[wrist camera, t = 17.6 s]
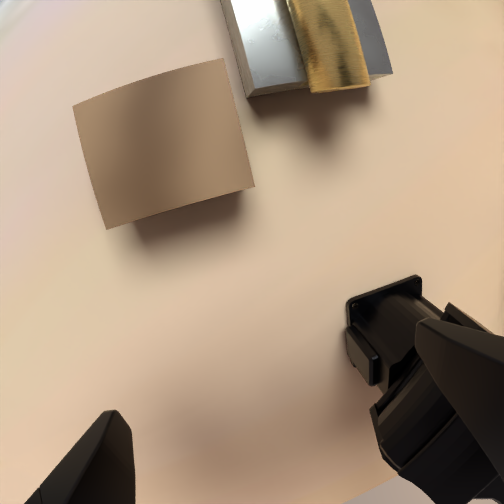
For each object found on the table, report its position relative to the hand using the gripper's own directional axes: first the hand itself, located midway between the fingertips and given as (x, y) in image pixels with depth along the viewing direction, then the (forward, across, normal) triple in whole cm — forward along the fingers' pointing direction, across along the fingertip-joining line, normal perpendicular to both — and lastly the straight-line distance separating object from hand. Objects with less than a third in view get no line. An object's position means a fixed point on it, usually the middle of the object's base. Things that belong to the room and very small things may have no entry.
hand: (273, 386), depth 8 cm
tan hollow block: (+12, +2, -7) cm, 14 cm away
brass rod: (+9, -7, -13) cm, 18 cm away
